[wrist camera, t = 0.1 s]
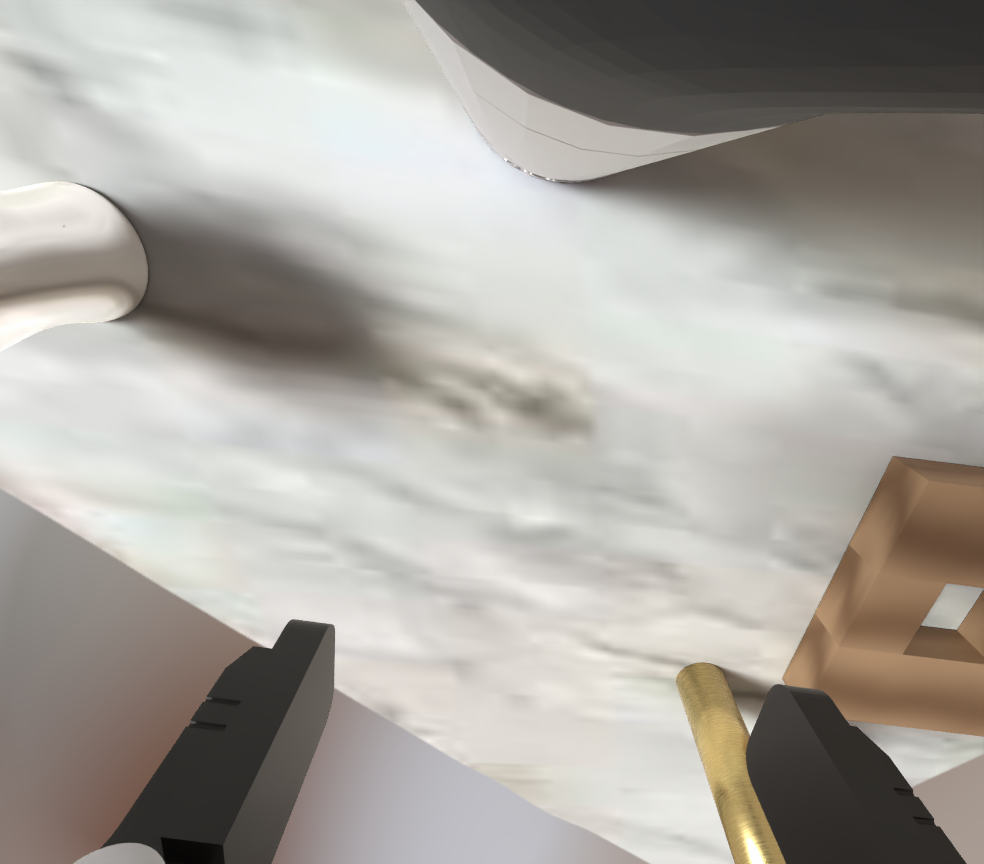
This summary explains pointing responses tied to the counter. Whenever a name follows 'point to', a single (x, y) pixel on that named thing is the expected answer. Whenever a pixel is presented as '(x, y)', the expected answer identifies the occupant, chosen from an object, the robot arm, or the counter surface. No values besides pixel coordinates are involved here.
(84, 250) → the beer glass
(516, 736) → the counter surface
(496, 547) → the counter surface
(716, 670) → the peg
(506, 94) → the robot arm
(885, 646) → the block
